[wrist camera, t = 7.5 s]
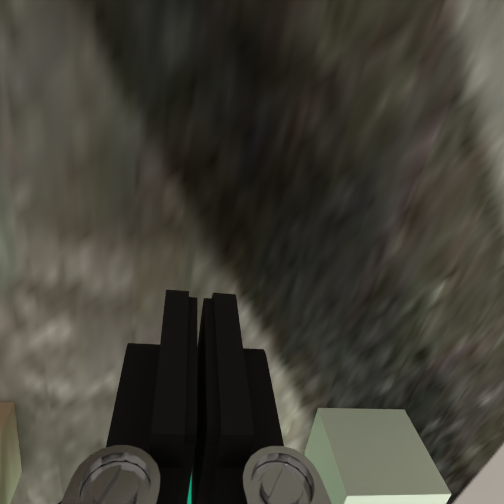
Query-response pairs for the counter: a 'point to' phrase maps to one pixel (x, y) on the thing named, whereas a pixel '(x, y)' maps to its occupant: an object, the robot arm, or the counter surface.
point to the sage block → (373, 458)
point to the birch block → (9, 452)
